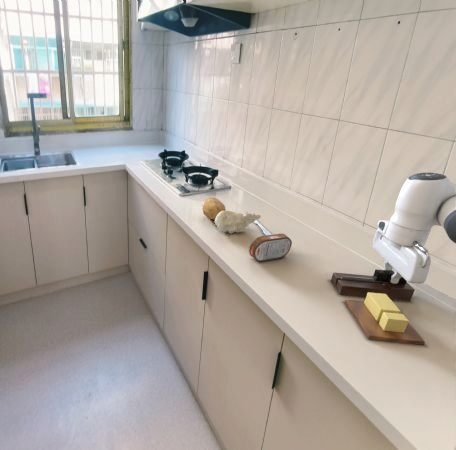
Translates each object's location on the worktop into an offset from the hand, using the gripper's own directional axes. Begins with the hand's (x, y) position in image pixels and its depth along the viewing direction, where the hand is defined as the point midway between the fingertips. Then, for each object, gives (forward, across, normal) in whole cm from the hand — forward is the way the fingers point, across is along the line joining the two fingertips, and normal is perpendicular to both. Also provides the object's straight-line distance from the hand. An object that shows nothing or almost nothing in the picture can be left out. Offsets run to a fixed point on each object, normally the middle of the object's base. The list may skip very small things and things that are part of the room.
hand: (389, 278), depth 94 cm
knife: (+4, 0, +4) cm, 6 cm away
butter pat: (+4, -17, +7) cm, 19 cm away
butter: (+4, -12, +7) cm, 14 cm away
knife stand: (+5, 0, +4) cm, 6 cm away
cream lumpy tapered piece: (+5, +35, +39) cm, 52 cm away
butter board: (+4, -14, +8) cm, 17 cm away
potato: (+4, +45, +47) cm, 65 cm away
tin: (+5, +14, +30) cm, 33 cm away
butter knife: (+4, +43, +29) cm, 52 cm away
